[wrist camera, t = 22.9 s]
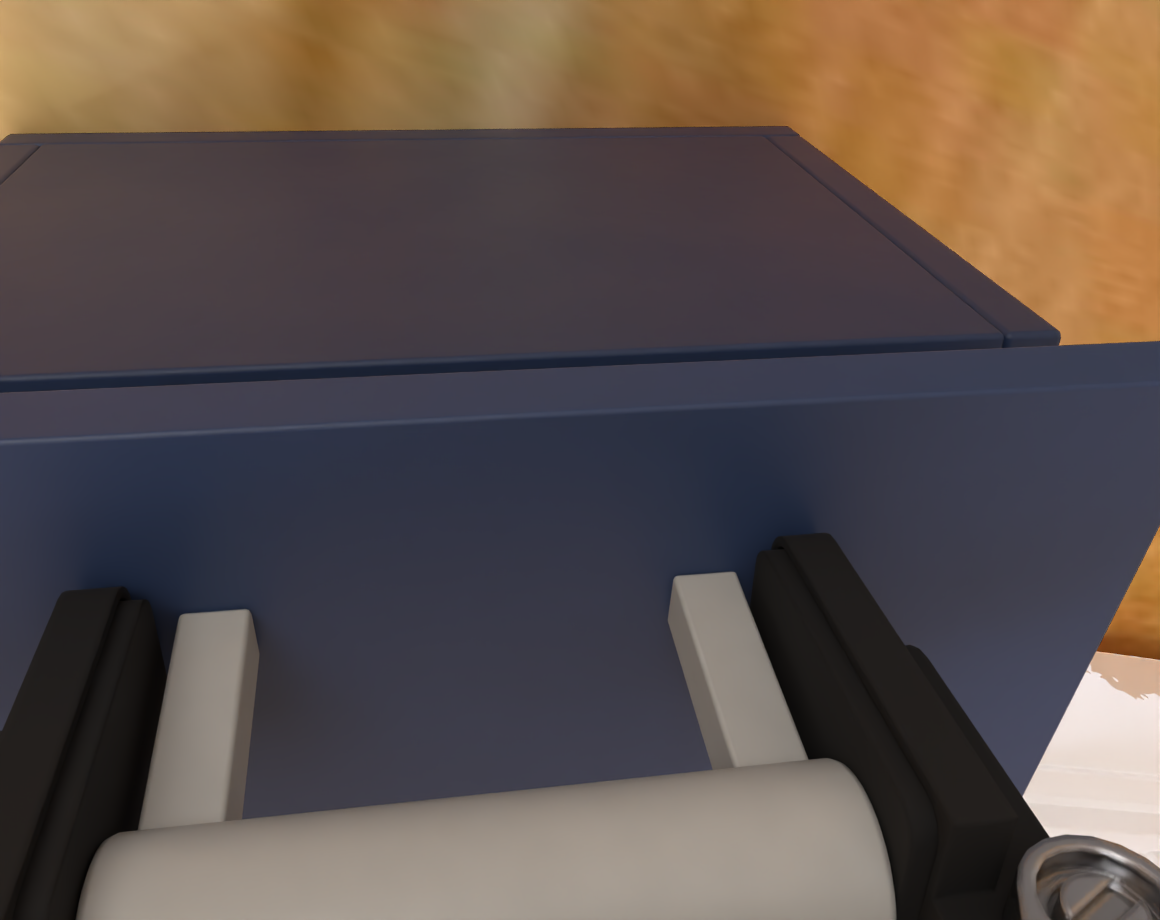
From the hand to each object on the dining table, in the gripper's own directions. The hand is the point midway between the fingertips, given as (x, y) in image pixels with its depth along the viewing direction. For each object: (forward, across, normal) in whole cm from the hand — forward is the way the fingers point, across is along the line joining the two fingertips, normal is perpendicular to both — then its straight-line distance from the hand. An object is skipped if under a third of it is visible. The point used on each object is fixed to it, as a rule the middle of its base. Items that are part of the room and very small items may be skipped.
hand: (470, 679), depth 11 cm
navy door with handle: (+2, 0, +5) cm, 5 cm away
